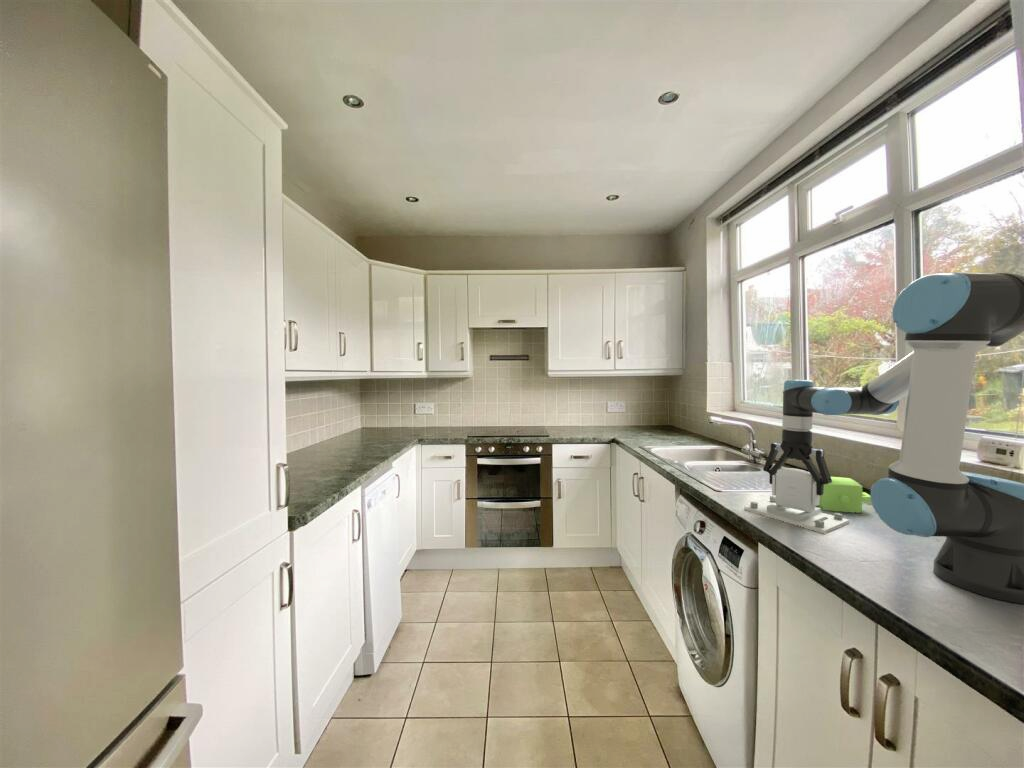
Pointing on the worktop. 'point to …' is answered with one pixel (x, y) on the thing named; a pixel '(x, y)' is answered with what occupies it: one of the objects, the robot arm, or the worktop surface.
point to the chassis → (798, 516)
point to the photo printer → (794, 489)
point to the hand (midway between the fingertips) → (794, 499)
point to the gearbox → (843, 496)
